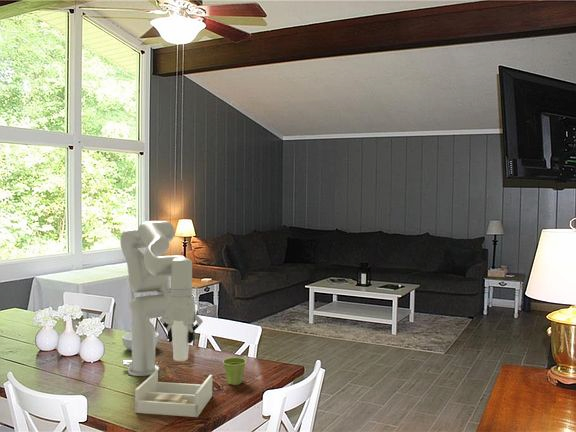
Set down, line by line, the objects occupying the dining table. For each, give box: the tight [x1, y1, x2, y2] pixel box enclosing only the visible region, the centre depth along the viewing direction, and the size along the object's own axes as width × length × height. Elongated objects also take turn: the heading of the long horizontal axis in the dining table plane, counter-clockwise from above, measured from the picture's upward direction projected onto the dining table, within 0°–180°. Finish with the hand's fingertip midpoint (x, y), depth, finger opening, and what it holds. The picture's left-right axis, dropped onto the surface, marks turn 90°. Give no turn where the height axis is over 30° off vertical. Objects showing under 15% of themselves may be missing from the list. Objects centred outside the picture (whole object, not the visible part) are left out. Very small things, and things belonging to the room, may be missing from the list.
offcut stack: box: [155, 393, 188, 404], centre depth 191 cm, size 12×5×5 cm, turn 83°
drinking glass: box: [171, 320, 190, 362], centre depth 199 cm, size 7×7×15 cm
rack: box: [134, 371, 213, 418], centre depth 196 cm, size 22×19×8 cm
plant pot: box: [222, 357, 247, 386], centre depth 218 cm, size 9×9×9 cm
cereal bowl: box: [121, 331, 160, 351], centre depth 259 cm, size 17×17×7 cm
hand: (180, 341), depth 199 cm, fingers closed on drinking glass, 6 cm apart
